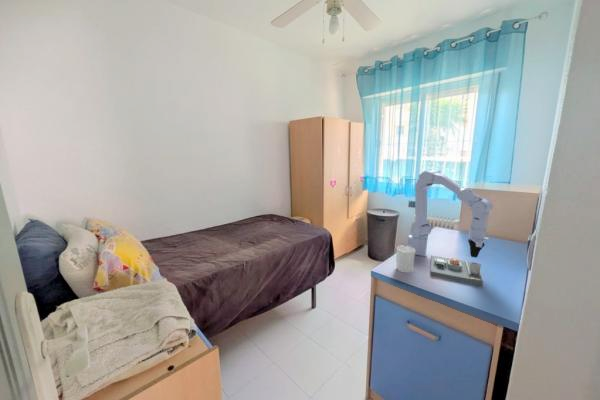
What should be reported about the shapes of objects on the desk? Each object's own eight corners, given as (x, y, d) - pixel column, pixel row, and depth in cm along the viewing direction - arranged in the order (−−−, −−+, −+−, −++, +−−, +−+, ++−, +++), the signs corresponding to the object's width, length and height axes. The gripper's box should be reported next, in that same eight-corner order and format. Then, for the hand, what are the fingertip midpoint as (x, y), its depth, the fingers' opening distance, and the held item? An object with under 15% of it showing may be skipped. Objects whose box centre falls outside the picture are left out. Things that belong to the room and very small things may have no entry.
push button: (450, 266, 109) (451, 260, 109) (450, 263, 112) (450, 257, 111) (458, 268, 108) (459, 261, 107) (457, 265, 110) (458, 259, 110)
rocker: (436, 263, 110) (437, 261, 110) (436, 260, 116) (436, 258, 115) (444, 264, 109) (444, 262, 109) (443, 261, 114) (443, 259, 114)
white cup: (405, 275, 107) (407, 254, 105) (391, 267, 114) (392, 247, 112) (417, 270, 111) (419, 250, 109) (403, 263, 118) (404, 244, 116)
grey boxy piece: (469, 273, 104) (470, 263, 103) (468, 271, 106) (470, 261, 105) (479, 275, 102) (481, 265, 101) (478, 273, 104) (480, 263, 103)
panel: (430, 275, 107) (431, 267, 106) (430, 259, 122) (431, 251, 122) (482, 286, 98) (483, 277, 97) (475, 267, 114) (476, 259, 113)
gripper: (493, 234, 96) (488, 265, 99) (486, 223, 109) (481, 252, 112) (472, 231, 100) (467, 261, 102) (467, 221, 112) (463, 249, 115)
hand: (473, 256), depth 107 cm, fingers closed
